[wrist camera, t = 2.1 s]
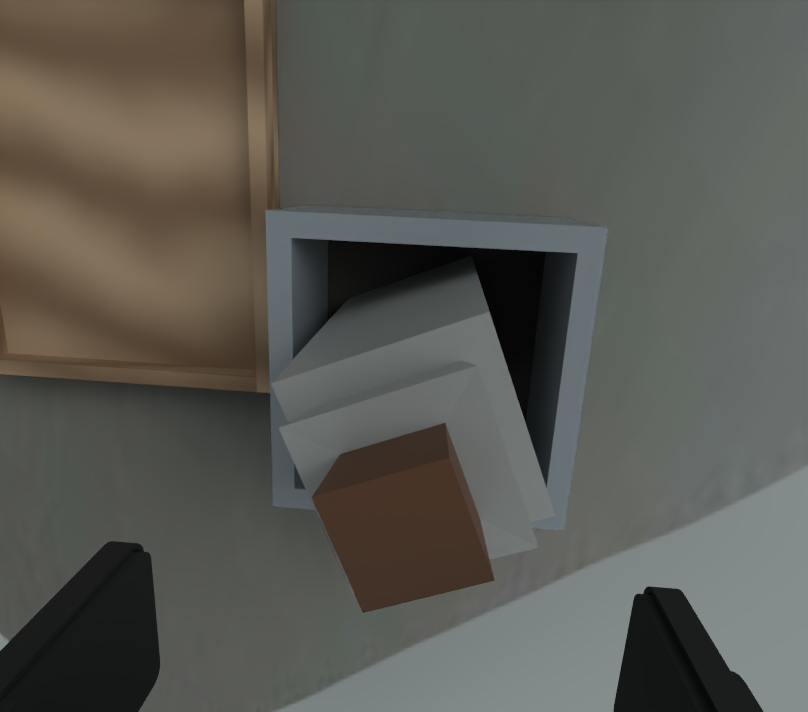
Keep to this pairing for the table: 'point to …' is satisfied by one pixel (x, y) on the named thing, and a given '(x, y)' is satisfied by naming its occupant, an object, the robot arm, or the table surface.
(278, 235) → the grey storage bin
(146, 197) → the tray
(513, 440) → the perfume bottle
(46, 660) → the robot arm
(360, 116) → the table surface
